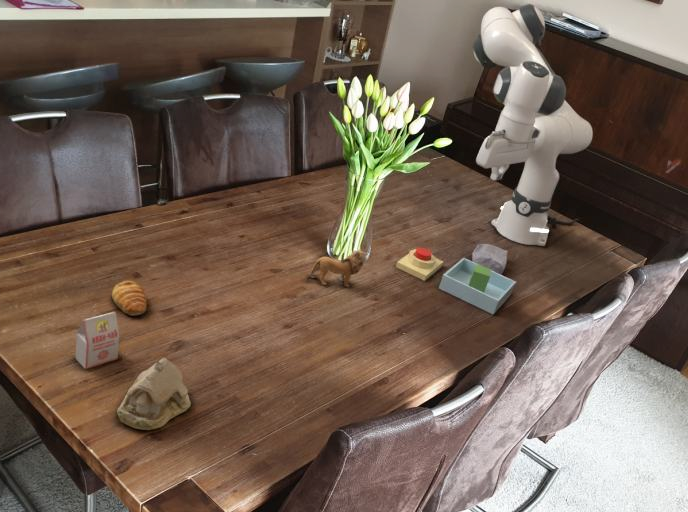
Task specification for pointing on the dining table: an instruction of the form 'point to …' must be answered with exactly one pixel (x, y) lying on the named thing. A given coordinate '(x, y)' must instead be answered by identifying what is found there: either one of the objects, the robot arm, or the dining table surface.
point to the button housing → (419, 265)
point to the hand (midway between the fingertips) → (495, 179)
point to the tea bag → (97, 340)
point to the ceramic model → (155, 397)
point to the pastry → (129, 298)
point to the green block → (480, 278)
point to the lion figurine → (339, 266)
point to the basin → (489, 301)
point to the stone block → (490, 257)
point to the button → (423, 254)
